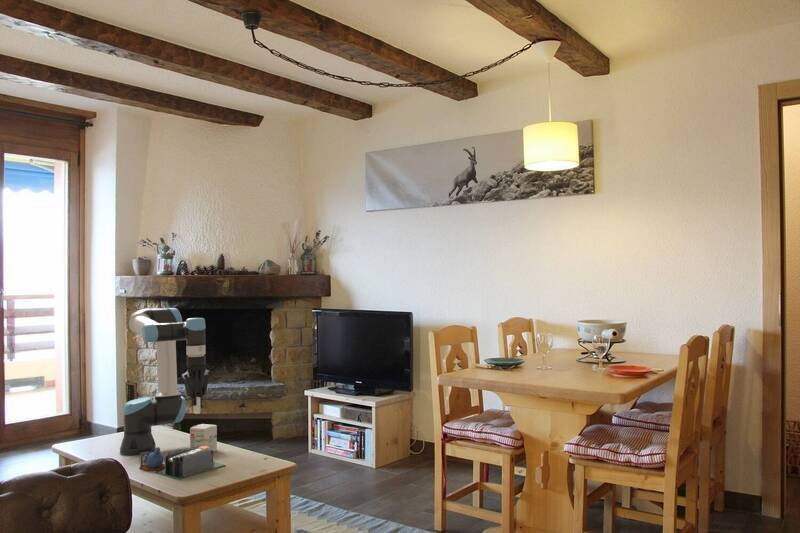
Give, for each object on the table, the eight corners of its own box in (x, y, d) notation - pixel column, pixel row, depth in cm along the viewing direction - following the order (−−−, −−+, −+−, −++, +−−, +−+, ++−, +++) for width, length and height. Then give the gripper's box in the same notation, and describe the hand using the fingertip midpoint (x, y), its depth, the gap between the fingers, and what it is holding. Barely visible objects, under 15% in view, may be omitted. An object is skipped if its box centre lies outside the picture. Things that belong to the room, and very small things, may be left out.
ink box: (189, 453, 292) (189, 427, 292) (202, 449, 300) (201, 423, 300) (205, 455, 289) (204, 428, 289) (217, 450, 297) (217, 424, 297)
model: (171, 467, 271) (170, 445, 271) (150, 473, 263) (150, 450, 263) (154, 463, 278) (154, 441, 278) (134, 468, 270) (134, 446, 271)
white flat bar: (173, 463, 257) (172, 459, 257) (167, 461, 259) (166, 457, 259) (209, 450, 270) (209, 446, 270) (203, 449, 273) (203, 445, 273)
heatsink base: (155, 473, 263) (155, 453, 263) (202, 460, 280) (201, 442, 280) (178, 479, 253) (178, 459, 253) (225, 466, 270) (225, 447, 270)
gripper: (187, 357, 262) (188, 417, 262) (214, 354, 272) (215, 411, 272) (176, 356, 267) (177, 415, 266) (204, 353, 277) (204, 409, 276)
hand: (196, 413), depth 269 cm, fingers closed
